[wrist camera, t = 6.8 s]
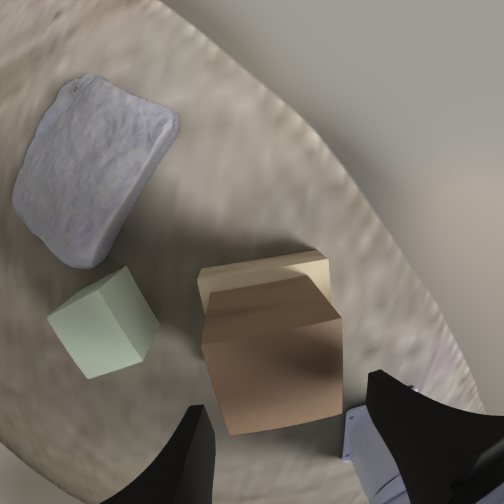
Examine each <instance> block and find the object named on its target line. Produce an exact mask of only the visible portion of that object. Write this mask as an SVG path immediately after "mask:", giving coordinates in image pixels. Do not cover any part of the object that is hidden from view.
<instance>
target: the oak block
mask: <svg viewBox="0 0 504 504" xmlns="http://www.w3.org/2000/svg"><path fill="white" fill-rule="evenodd" d="M307 275H308V276H309V277H310V279H311V280H312V281H313V282H314V284H315V285H316V286H317V287H318V289H319V290H320V291H321V292H322V294H323V295H324V296H325V297H326V299H327V300H328V301H329V302H330V304H331V293H330V277H329V263H328V258H327V257H325V256H324V255H323V254H322V253H320V252H319V251H318V250H312V251H306V252H300V253H294V254H288V255H282V256H276V257H269V258H263V259H257V260H251V261H245V262H238V263H232V264H226V265H219V266H213V267H207V268H201V271H200V273H199V276H198V279H197V283H198V287H199V292H200V297H201V301H202V305H203V310H204V314H205V316H206V311H207V306H208V301H209V296H210V293H212V292H218V291H224V290H230V289H236V288H242V287H247V286H253V285H259V284H264V283H270V282H275V281H281V280H286V279H291V278H296V277H302V276H307Z"/></svg>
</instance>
